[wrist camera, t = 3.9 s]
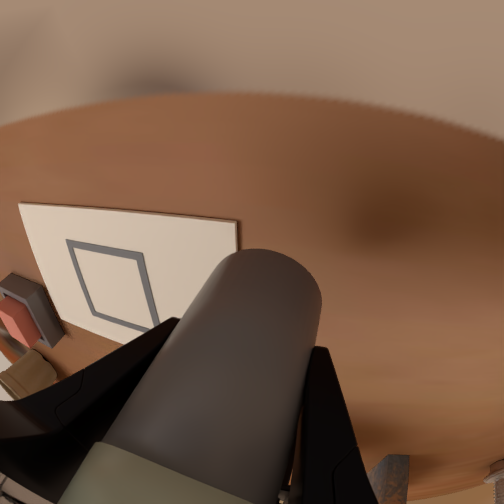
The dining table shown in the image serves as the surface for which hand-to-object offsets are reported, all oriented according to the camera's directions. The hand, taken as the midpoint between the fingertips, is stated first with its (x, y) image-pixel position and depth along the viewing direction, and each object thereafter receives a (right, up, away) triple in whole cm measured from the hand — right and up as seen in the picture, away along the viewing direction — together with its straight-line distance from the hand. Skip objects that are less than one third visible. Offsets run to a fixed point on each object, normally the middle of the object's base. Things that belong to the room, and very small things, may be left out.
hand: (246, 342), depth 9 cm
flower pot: (-33, -15, +30) cm, 47 cm away
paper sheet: (-10, 0, +13) cm, 16 cm away
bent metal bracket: (+16, -23, +19) cm, 34 cm away
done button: (-25, -4, +18) cm, 31 cm away
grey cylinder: (+1, +1, +2) cm, 2 cm away
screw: (+34, -26, +14) cm, 45 cm away
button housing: (-25, -3, +19) cm, 31 cm away
